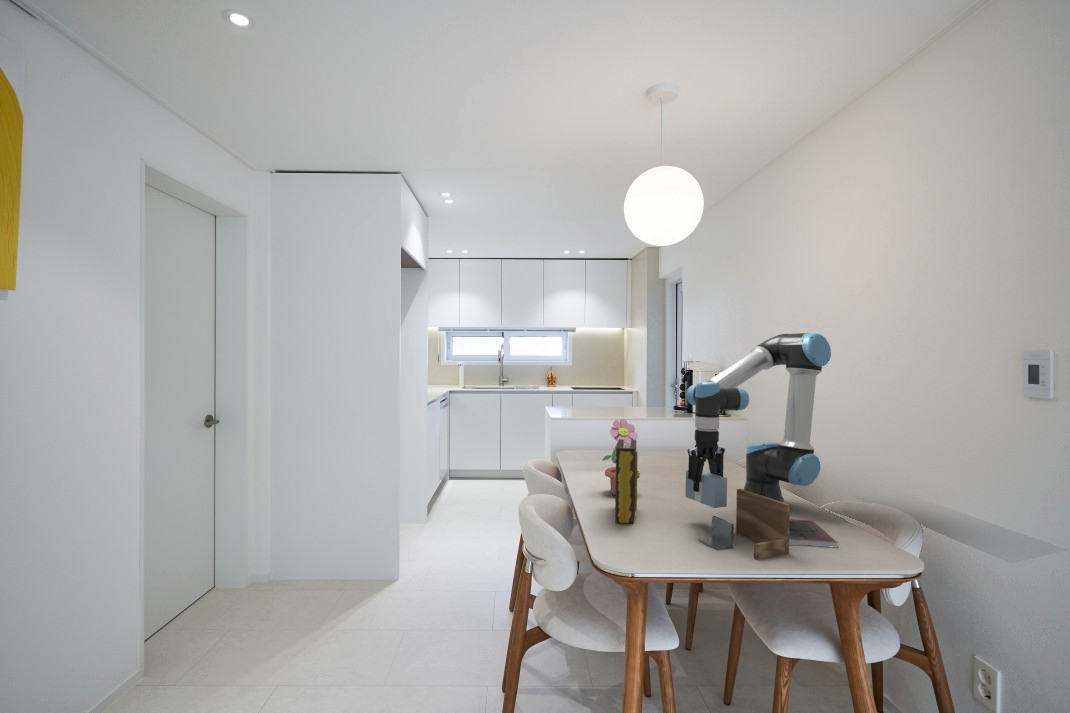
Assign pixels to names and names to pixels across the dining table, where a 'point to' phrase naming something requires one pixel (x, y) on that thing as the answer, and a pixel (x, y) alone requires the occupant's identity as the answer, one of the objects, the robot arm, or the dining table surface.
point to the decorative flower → (618, 432)
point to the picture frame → (809, 534)
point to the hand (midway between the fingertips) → (705, 500)
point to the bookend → (720, 534)
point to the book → (626, 482)
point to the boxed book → (709, 489)
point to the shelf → (763, 523)
